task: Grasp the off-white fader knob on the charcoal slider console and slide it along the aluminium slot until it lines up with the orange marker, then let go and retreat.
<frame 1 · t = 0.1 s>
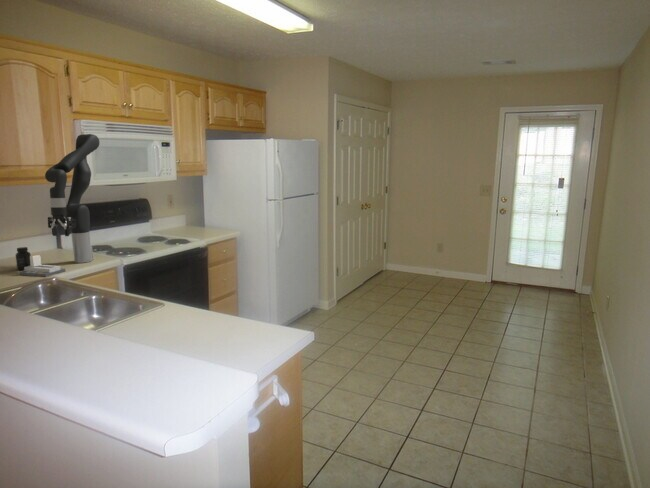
hand: (61, 235, 246), 17 cm above the countertop, tool pointing down, fingers open, 8 cm apart
supplement bottle: (25, 269, 244), on the countertop
fader: (35, 262, 234), point 5 cm above the countertop, slide at -4.0 cm
console: (43, 273, 234), on the countertop
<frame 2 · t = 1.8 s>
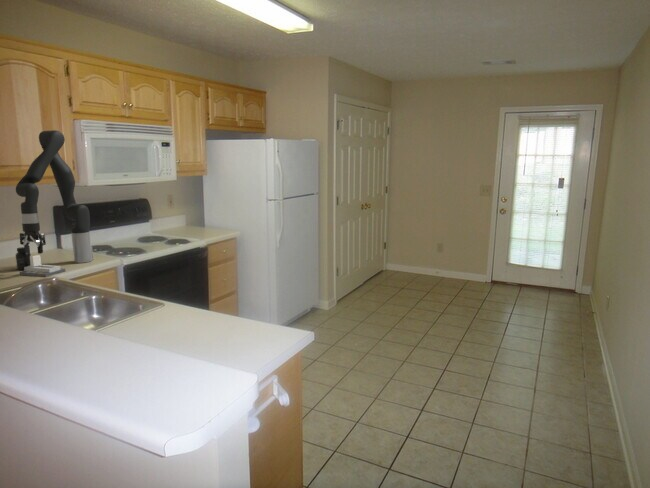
hand: (34, 253, 233), 11 cm above the countertop, tool pointing down, fingers open, 8 cm apart
nothing on the countertop moved.
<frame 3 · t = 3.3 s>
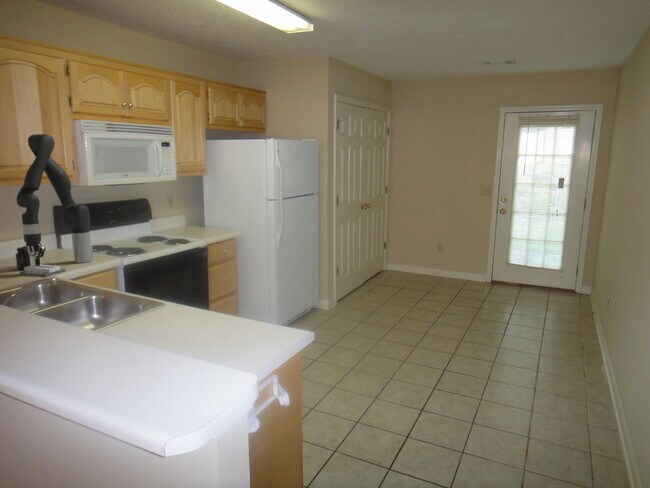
hand: (36, 265, 234), 4 cm above the countertop, tool pointing down, fingers closed, pressing on fader
fader: (35, 262, 234), point 5 cm above the countertop, slide at -4.0 cm, touching gripper
everything else where it was.
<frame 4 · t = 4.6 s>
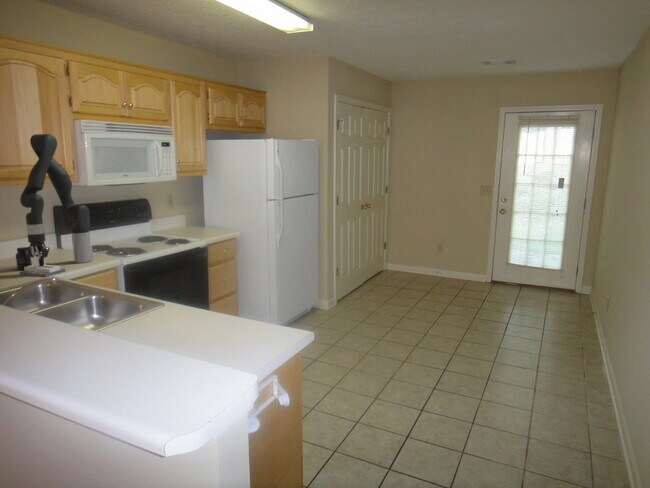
hand: (40, 265, 234), 4 cm above the countertop, tool pointing down, fingers closed on fader, 2 cm apart
fader: (39, 262, 233), point 5 cm above the countertop, slide at -1.3 cm, touching gripper
everything else where it was.
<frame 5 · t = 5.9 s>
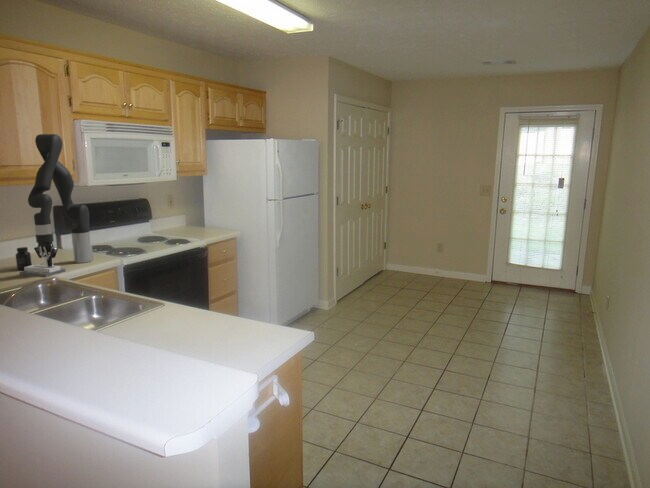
hand: (48, 265, 232), 4 cm above the countertop, tool pointing down, fingers closed on fader, 2 cm apart
fader: (47, 263, 232), point 5 cm above the countertop, slide at 4.0 cm, touching gripper
everything else where it was.
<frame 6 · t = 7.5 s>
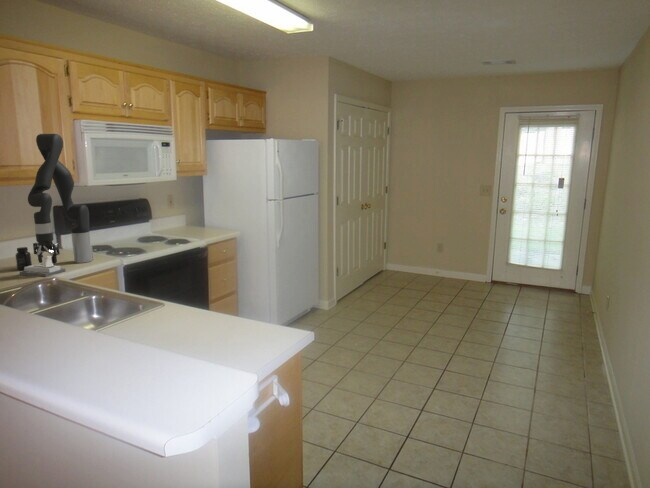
hand: (47, 262, 232), 6 cm above the countertop, tool pointing down, fingers open, 8 cm apart
fader: (47, 263, 232), point 5 cm above the countertop, slide at 4.0 cm
everything else where it was.
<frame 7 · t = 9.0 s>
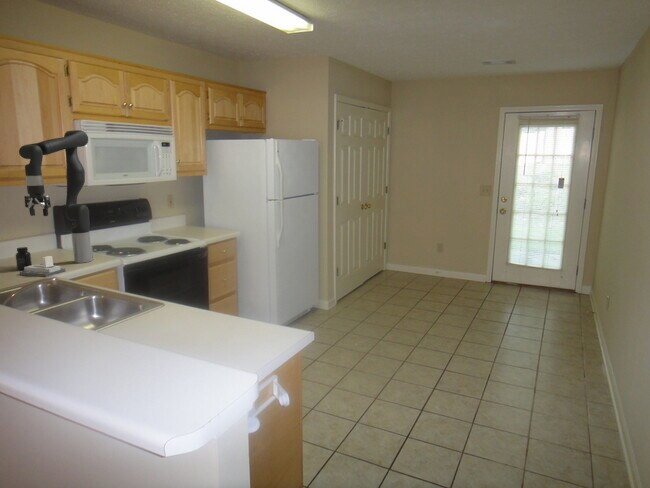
hand: (39, 215, 234), 30 cm above the countertop, tool pointing down, fingers open, 8 cm apart
nothing on the countertop moved.
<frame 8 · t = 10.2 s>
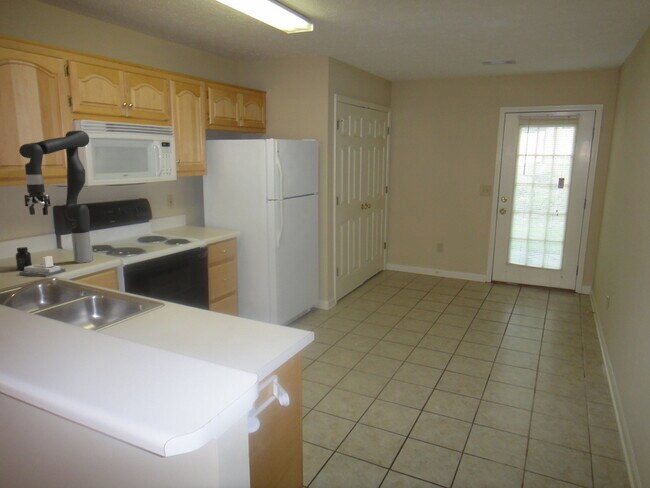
hand: (39, 214, 234), 30 cm above the countertop, tool pointing down, fingers open, 8 cm apart
nothing on the countertop moved.
at the end: fader slide at 4.0 cm; the gripper is holding nothing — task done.
